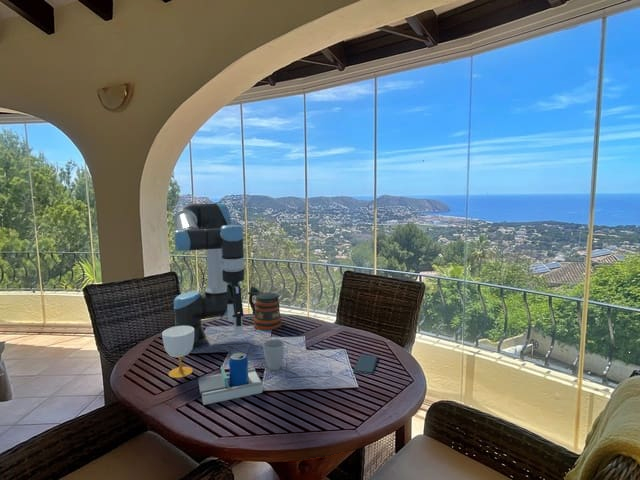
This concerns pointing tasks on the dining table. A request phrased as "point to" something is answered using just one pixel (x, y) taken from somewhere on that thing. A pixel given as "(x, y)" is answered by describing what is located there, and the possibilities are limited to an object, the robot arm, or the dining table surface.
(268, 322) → the beer stein
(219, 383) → the shutter
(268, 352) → the cup
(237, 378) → the beverage can
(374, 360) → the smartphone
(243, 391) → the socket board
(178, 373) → the cup
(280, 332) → the dining table surface
